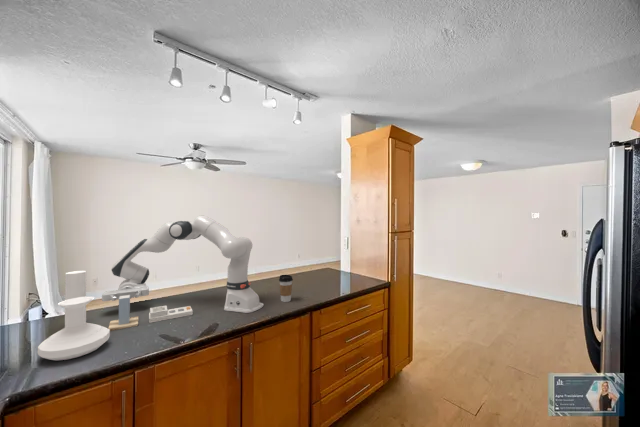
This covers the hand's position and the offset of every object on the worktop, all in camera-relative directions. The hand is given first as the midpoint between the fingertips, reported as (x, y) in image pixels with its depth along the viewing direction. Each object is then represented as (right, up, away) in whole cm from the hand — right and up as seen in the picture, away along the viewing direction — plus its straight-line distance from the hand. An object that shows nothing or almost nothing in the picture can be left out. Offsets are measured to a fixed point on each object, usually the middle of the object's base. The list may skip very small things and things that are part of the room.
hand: (125, 297), depth 134 cm
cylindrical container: (-15, -10, -11) cm, 21 cm away
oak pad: (+7, -10, -10) cm, 15 cm away
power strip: (+23, -10, +1) cm, 25 cm away
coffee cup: (+79, -10, +26) cm, 84 cm away
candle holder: (+7, -10, -35) cm, 37 cm away
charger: (+7, -9, -10) cm, 15 cm away
